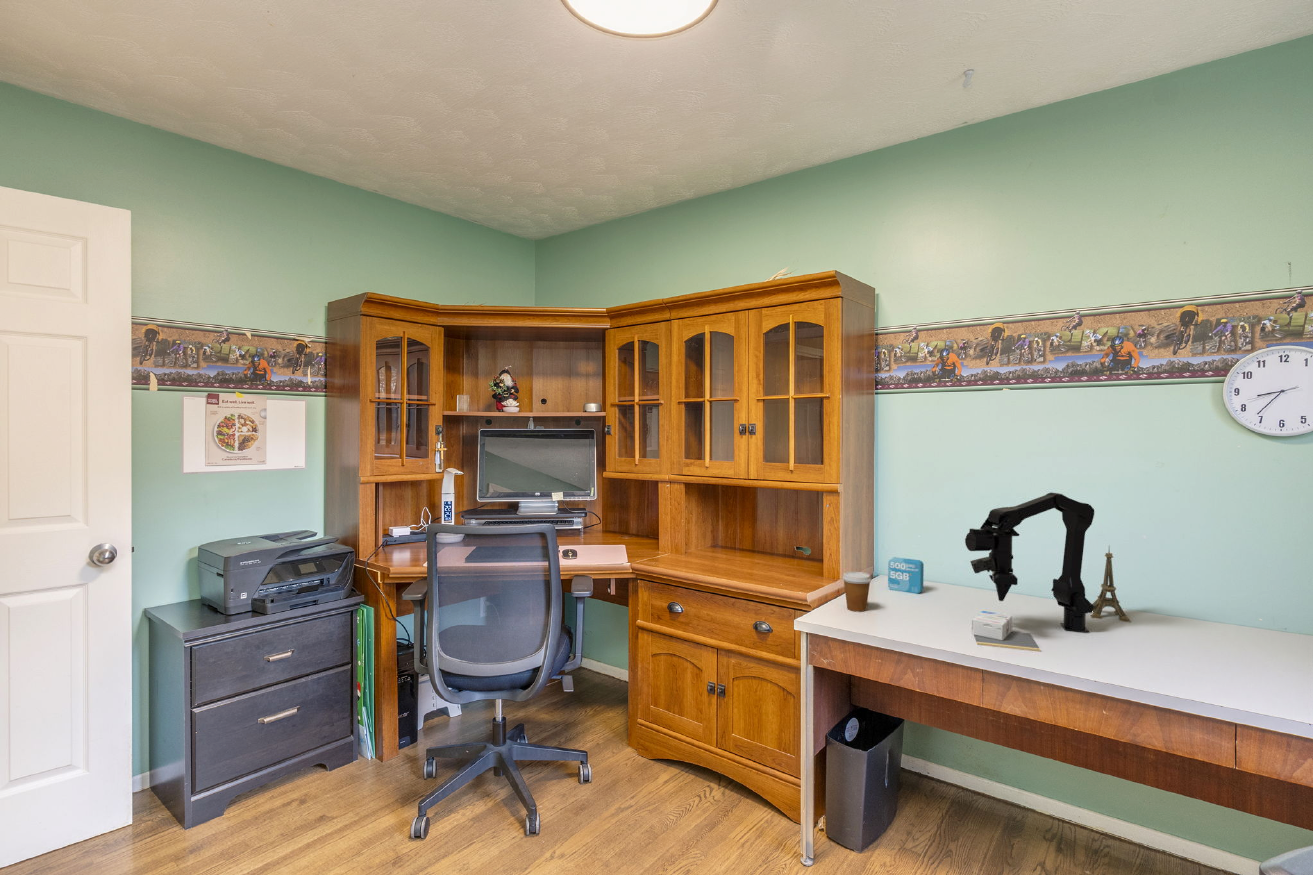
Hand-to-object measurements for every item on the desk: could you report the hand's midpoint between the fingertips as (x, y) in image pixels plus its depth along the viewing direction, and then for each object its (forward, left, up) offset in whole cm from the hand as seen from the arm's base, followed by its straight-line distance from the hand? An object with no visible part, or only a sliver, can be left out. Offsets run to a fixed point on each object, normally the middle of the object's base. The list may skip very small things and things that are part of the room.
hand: (1000, 600), depth 198 cm
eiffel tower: (-31, +36, -10) cm, 48 cm away
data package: (-41, -27, -10) cm, 50 cm away
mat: (+8, 0, -10) cm, 12 cm away
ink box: (-1, -1, -7) cm, 7 cm away
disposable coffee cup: (-9, -43, -10) cm, 45 cm away
